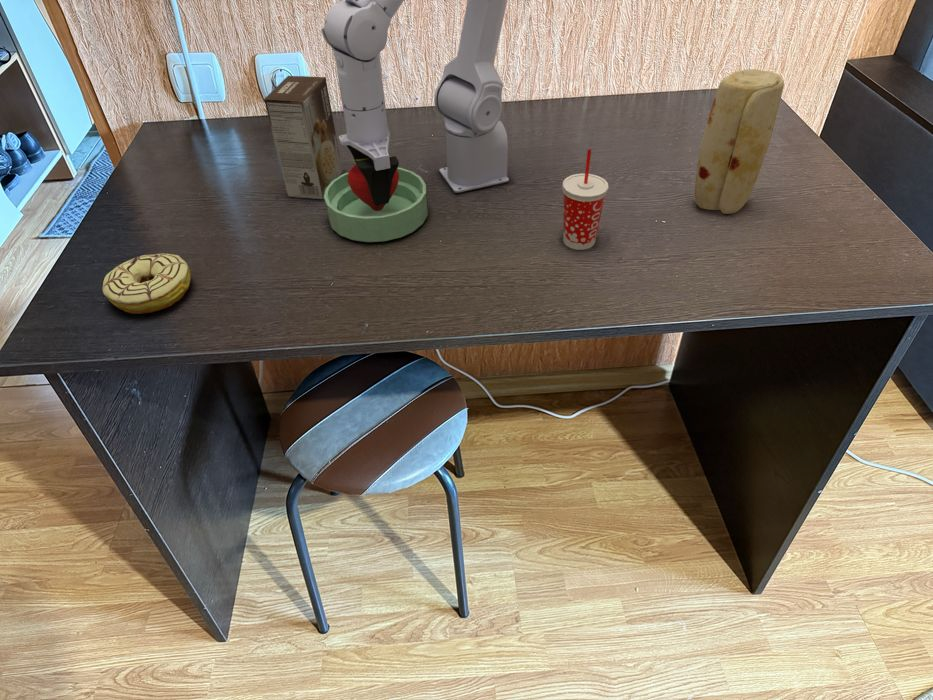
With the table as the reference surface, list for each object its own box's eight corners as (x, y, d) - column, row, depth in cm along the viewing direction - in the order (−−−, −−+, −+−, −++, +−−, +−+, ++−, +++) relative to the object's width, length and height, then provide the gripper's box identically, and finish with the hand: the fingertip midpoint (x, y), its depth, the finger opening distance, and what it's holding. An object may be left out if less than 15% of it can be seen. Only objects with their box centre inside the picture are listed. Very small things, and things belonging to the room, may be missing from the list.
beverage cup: (573, 257, 90) (583, 165, 81) (549, 235, 94) (556, 145, 85) (609, 245, 92) (623, 153, 83) (584, 224, 96) (595, 134, 87)
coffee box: (307, 169, 110) (287, 73, 99) (343, 172, 109) (327, 76, 98) (286, 197, 104) (262, 98, 93) (324, 200, 103) (304, 100, 92)
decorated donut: (145, 264, 92) (135, 241, 89) (210, 277, 89) (201, 254, 86) (93, 309, 84) (80, 286, 82) (161, 325, 82) (150, 302, 79)
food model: (737, 191, 102) (776, 60, 88) (759, 213, 97) (804, 78, 84) (679, 198, 101) (709, 67, 87) (698, 221, 96) (733, 86, 82)
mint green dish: (410, 184, 106) (408, 158, 103) (441, 231, 96) (439, 204, 93) (320, 203, 102) (315, 177, 99) (341, 254, 92) (336, 227, 89)
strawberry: (350, 203, 100) (340, 142, 93) (399, 196, 101) (392, 135, 94) (354, 223, 96) (344, 161, 89) (405, 216, 97) (399, 154, 90)
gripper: (322, 87, 91) (338, 175, 100) (347, 129, 81) (361, 223, 90) (371, 79, 93) (382, 166, 102) (401, 119, 83) (409, 212, 92)
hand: (375, 192), depth 96 cm, fingers closed on strawberry, 6 cm apart
